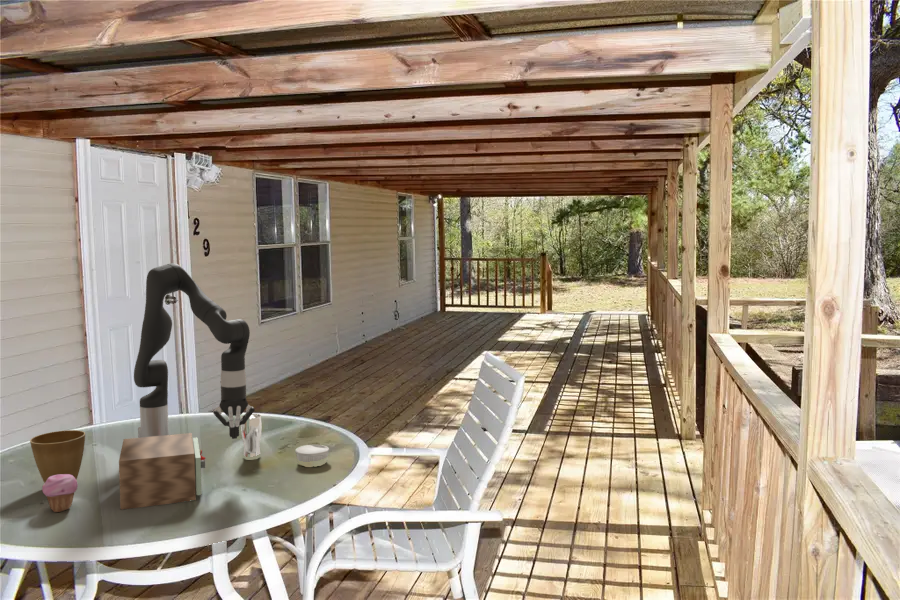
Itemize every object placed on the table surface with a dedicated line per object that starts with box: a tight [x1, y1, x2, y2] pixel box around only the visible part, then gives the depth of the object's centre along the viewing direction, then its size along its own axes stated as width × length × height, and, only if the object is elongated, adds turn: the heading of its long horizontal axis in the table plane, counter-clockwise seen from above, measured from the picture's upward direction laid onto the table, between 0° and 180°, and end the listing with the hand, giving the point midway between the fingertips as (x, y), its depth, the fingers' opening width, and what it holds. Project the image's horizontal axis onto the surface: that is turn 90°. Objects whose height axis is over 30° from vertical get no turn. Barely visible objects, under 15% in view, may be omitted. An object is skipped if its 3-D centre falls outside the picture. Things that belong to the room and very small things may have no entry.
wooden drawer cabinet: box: [118, 432, 197, 511], centre depth 215 cm, size 20×24×14 cm
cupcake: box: [41, 474, 79, 513], centre depth 200 cm, size 9×9×10 cm
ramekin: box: [294, 444, 330, 462], centre depth 242 cm, size 11×11×5 cm
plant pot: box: [29, 429, 86, 484], centre depth 218 cm, size 15×15×16 cm
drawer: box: [192, 437, 206, 496], centre depth 216 cm, size 21×23×11 cm
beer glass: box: [240, 413, 263, 457], centre depth 248 cm, size 7×7×15 cm
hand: (234, 438), depth 222 cm, fingers closed
